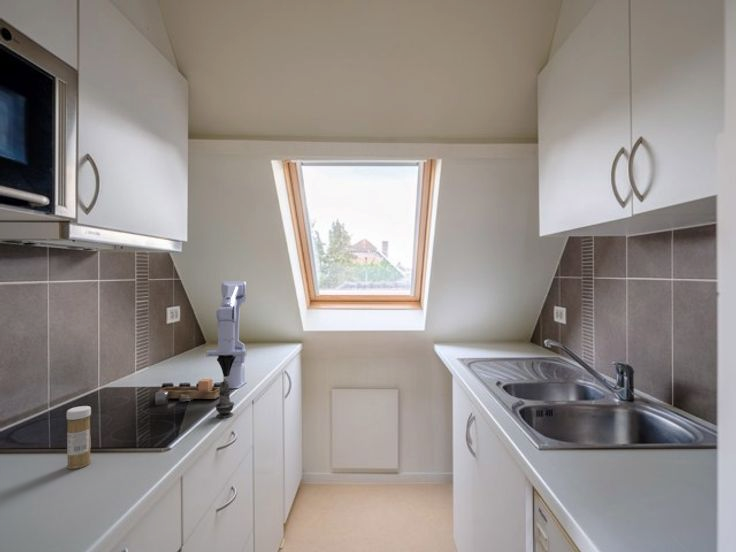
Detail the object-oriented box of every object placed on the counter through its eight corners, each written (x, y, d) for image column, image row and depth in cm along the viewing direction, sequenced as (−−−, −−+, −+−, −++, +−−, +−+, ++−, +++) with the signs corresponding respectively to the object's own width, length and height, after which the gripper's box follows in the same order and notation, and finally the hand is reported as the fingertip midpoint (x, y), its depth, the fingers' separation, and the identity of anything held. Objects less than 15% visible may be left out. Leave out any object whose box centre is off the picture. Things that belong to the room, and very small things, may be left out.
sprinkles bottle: (92, 459, 92) (92, 404, 92) (88, 467, 88) (88, 409, 88) (69, 463, 90) (69, 407, 90) (63, 472, 86) (64, 412, 86)
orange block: (198, 392, 138) (198, 381, 138) (203, 389, 142) (203, 378, 142) (208, 392, 138) (208, 381, 138) (212, 389, 141) (212, 378, 141)
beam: (155, 401, 137) (155, 391, 137) (166, 395, 144) (166, 386, 144) (214, 401, 136) (214, 392, 136) (222, 396, 143) (222, 386, 143)
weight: (159, 401, 137) (159, 390, 137) (170, 402, 136) (170, 390, 136) (152, 405, 133) (153, 394, 133) (163, 405, 132) (163, 394, 132)
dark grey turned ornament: (237, 412, 124) (237, 376, 125) (229, 419, 119) (229, 380, 119) (220, 412, 125) (220, 376, 125) (211, 418, 119) (211, 380, 119)
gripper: (202, 340, 136) (202, 378, 136) (241, 340, 135) (241, 378, 135) (211, 337, 143) (211, 373, 143) (248, 337, 142) (248, 374, 142)
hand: (226, 376), depth 139 cm, fingers closed
